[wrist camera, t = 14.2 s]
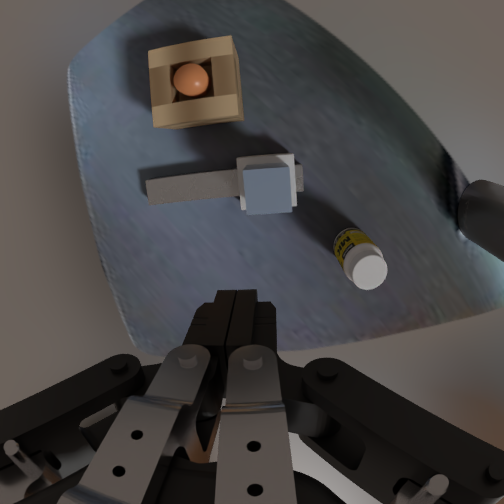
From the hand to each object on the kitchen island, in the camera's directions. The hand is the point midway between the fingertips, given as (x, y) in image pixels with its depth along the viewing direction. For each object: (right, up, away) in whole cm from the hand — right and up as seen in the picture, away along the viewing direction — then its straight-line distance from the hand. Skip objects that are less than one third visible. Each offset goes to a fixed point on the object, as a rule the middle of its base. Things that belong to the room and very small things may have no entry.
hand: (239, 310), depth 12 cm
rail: (-3, +11, +23) cm, 26 cm away
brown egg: (-5, +19, +15) cm, 24 cm away
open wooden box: (-5, +21, +20) cm, 29 cm away
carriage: (+2, +11, +23) cm, 26 cm away
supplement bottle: (+13, +3, +26) cm, 29 cm away
